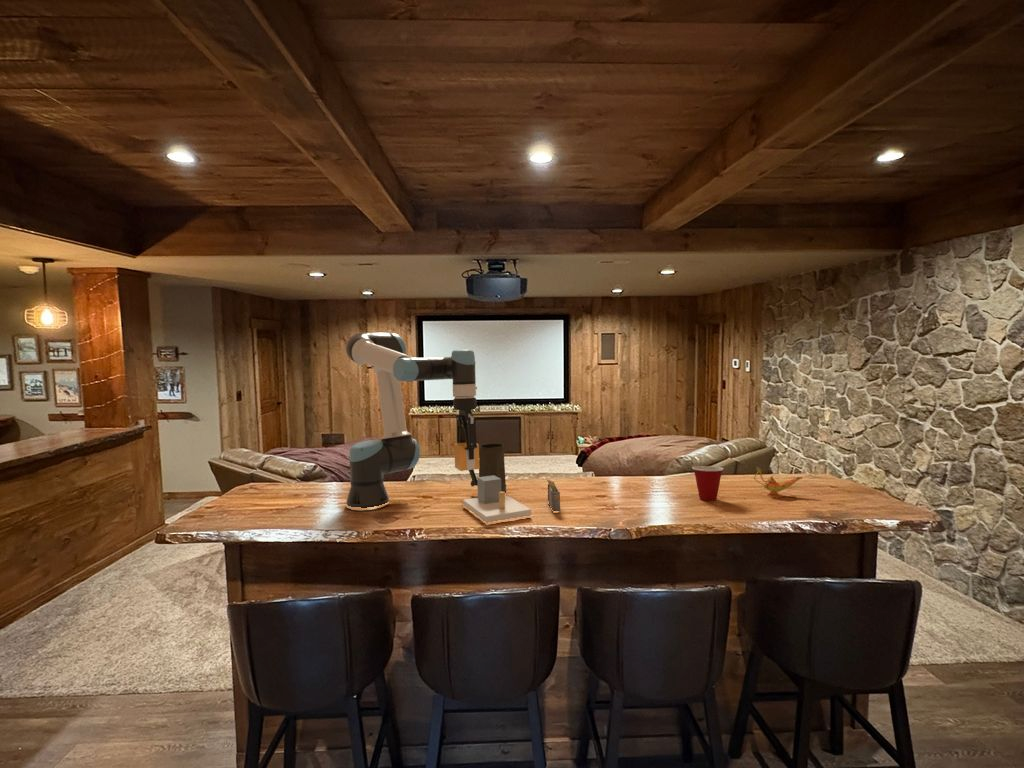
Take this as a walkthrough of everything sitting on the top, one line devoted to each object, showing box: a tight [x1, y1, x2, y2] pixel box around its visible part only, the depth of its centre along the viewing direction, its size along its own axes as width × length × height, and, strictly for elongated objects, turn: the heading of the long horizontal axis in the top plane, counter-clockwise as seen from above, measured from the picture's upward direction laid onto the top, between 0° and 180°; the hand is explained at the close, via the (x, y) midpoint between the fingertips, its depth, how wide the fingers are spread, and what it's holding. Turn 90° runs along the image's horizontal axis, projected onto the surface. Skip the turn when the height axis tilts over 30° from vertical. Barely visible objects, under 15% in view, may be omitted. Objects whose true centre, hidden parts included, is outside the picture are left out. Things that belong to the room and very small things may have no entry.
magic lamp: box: [753, 466, 803, 499], centre depth 191 cm, size 7×18×11 cm, turn 89°
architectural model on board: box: [546, 478, 561, 512], centre depth 181 cm, size 11×3×10 cm, turn 4°
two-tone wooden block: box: [453, 442, 480, 472], centre depth 168 cm, size 6×6×8 cm
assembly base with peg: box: [462, 475, 532, 523], centre depth 177 cm, size 22×16×11 cm
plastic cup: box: [691, 465, 724, 502], centre depth 188 cm, size 11×11×12 cm
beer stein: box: [468, 443, 507, 493], centre depth 200 cm, size 15×11×20 cm
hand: (467, 467), depth 169 cm, fingers closed on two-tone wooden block, 6 cm apart
